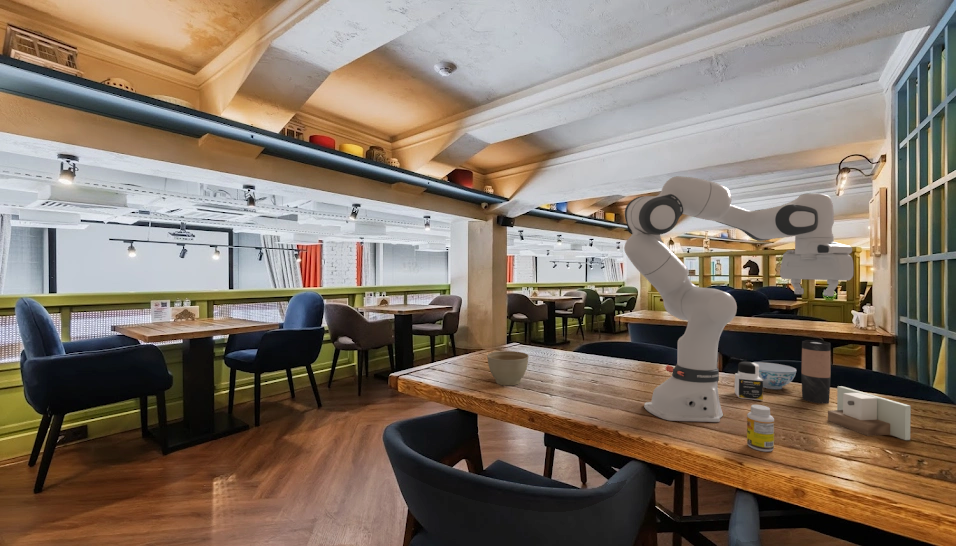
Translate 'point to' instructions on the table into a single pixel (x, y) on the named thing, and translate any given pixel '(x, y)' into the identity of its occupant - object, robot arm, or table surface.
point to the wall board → (885, 412)
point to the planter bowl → (507, 366)
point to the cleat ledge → (859, 424)
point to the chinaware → (775, 375)
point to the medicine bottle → (748, 381)
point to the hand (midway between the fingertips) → (813, 295)
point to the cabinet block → (860, 406)
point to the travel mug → (815, 371)
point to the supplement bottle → (760, 428)
